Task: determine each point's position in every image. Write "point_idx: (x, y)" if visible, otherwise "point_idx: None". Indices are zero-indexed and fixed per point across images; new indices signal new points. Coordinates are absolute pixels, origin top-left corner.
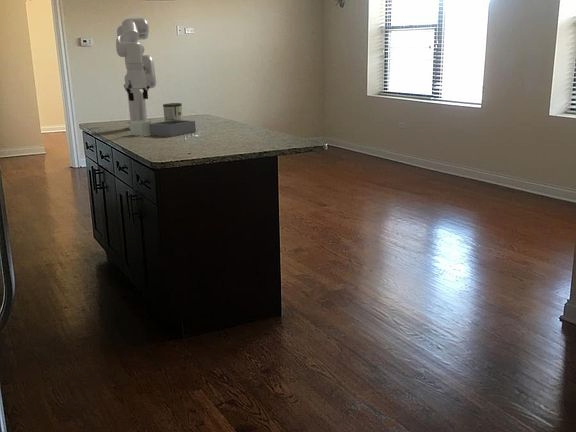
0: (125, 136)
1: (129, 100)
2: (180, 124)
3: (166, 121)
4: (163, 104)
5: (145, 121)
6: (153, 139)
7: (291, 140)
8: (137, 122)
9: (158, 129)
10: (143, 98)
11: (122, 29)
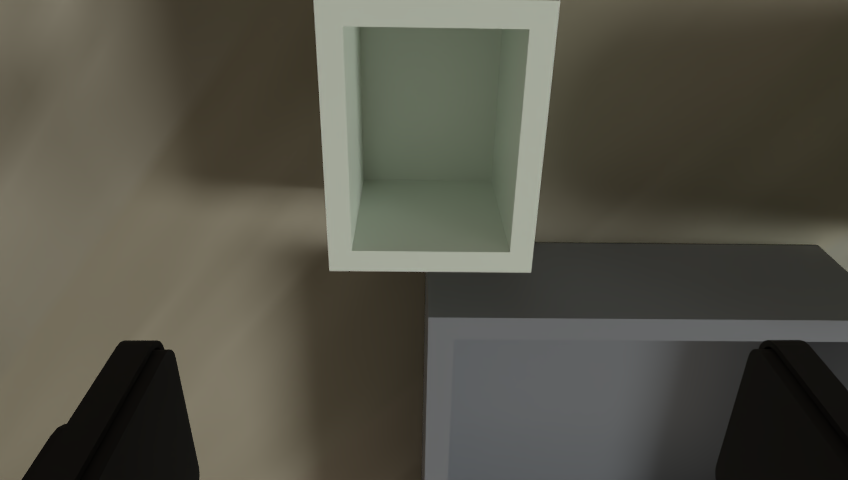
0: (200, 25)
1: (129, 350)
2: None
3: (719, 340)
4: None
5: (516, 176)
6: (231, 468)
7: None
8: (328, 199)
9: (424, 407)
10: (753, 359)
11: None
